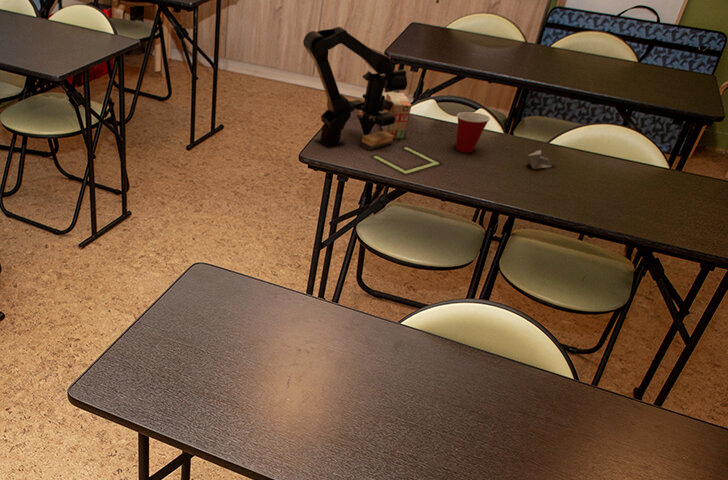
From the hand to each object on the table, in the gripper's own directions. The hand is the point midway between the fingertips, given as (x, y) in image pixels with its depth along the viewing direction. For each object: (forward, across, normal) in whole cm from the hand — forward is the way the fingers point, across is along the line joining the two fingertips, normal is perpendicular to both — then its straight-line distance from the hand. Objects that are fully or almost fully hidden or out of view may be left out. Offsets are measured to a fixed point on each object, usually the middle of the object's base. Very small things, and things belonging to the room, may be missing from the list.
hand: (365, 136), depth 245 cm
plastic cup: (+2, -24, -25) cm, 34 cm away
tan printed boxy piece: (+1, +4, -16) cm, 17 cm away
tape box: (+1, -20, 0) cm, 20 cm away
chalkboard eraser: (+1, -6, 0) cm, 6 cm away
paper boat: (+2, -47, -34) cm, 58 cm away
